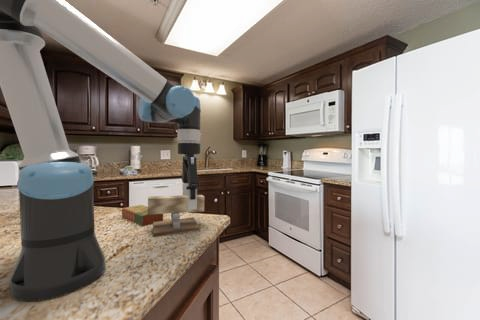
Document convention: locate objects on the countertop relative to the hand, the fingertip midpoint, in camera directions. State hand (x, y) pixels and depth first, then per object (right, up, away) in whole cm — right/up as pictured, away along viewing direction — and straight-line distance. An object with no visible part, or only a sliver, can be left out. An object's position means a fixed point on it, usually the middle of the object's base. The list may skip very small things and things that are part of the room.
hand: (189, 204), depth 78 cm
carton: (-20, -8, +8) cm, 23 cm away
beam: (-4, -2, -1) cm, 5 cm away
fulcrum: (-4, -7, -1) cm, 9 cm away
